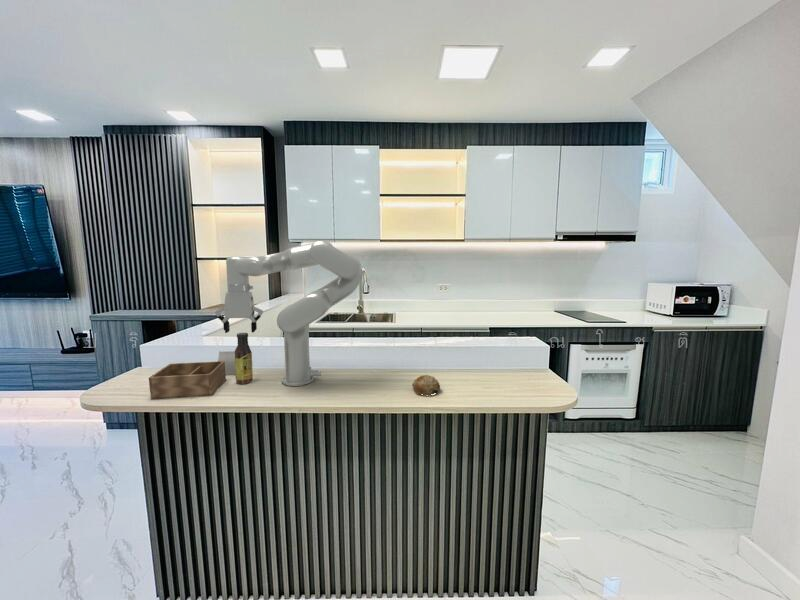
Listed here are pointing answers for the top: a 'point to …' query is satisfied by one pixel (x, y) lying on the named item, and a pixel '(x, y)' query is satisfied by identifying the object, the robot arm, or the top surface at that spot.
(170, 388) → the crate
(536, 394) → the top surface
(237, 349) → the sauce bottle
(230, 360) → the printed food box
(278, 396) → the top surface
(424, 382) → the bread roll
